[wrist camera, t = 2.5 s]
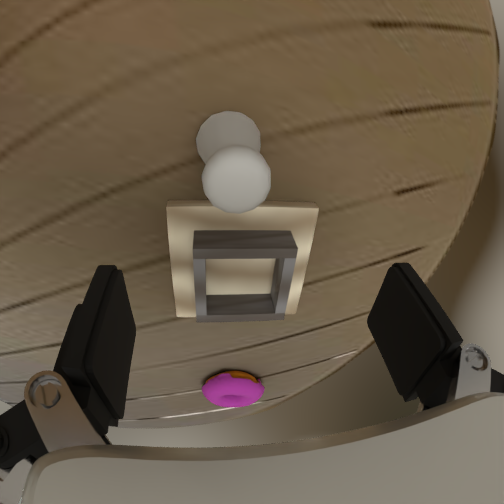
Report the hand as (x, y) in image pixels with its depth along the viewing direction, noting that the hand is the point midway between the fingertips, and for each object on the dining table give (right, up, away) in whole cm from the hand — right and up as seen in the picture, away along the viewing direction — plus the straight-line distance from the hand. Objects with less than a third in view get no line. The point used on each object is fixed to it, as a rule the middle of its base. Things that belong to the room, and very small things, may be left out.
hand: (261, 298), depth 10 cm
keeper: (-2, 0, +27) cm, 27 cm away
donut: (-4, -22, +43) cm, 48 cm away
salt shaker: (-3, +13, +18) cm, 22 cm away
